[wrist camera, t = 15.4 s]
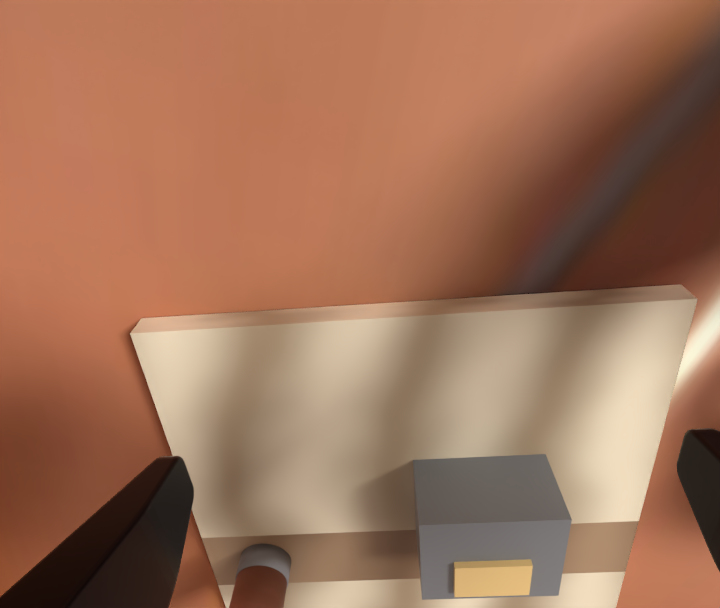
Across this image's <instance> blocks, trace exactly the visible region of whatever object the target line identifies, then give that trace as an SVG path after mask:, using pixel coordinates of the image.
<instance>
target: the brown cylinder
mask: <svg viewBox="0 0 720 608" xmlns="http://www.w3.org/2000/svg"><path fill="white" fill-rule="evenodd" d="M290 568H291V557H290V555H289V554H288V553H287V552H286V551H285V550H284V549H282V548H280V547H278V546H276V545H272V544H263V543H261V544H254V545H251V546H249V547H247V548H246V549H245V550H244V551H243V552H242V554H241V557H240V561H239V565H238V569H237V573H236V577H235V585H234V590H233V594H232V598H231V602H230V606H229V608H284V601H285V595H286V589H287V587H288V582H289V575H290Z"/></svg>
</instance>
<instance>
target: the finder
mask: <svg viewBox="0 0 720 608" xmlns="http://www.w3.org/2000/svg"><path fill="white" fill-rule="evenodd" d="M413 473H414V497H415V521H416V538H417V549H418V561H419V572H420V583H421V595H422V600H432V599H465V598H499V597H532V596H559V590H560V584H561V578H562V573H563V567H564V561H565V556H566V550H567V544H568V538H569V533H570V527H571V521H572V519H571V516H570V514H569V511H568V509H567V506H566V504H565V501H564V499H563V496H562V494H561V491H560V489H559V486H558V484H557V481H556V479H555V476H554V474H553V471H552V469H551V466H550V464H549V461H548V459H547V456H546V454H534V455H512V456H490V457H467V458H445V459H422V460H413Z"/></svg>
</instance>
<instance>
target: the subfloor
mask: <svg viewBox="0 0 720 608" xmlns="http://www.w3.org/2000/svg"><path fill="white" fill-rule="evenodd" d="M697 300H698V299H697V298H696V297H695V296H694V295H693V294H692V293H690V292H689V291H688V290H687V289H686V288H685V287H684V286H682V285H681V284H679V285H663V286H647V287H631V288H615V289H599V290H583V291H568V292H552V293H536V294H520V295H504V296H488V297H472V298H456V299H441V300H425V301H409V302H393V303H377V304H361V305H345V306H329V307H313V308H298V309H282V310H266V311H250V312H234V313H218V314H202V315H186V316H171V317H155V318H141V320H140V321H139V322H138V324H137V325H136V326H135V328H134V329H133V330H132V332H131V333H130V335H131V338H132V341H133V344H134V347H135V349H136V352H137V355H138V358H139V361H140V364H141V367H142V369H143V372H144V375H145V378H146V381H147V384H148V386H149V389H150V392H151V395H152V398H153V401H154V404H155V406H156V409H157V412H158V415H159V418H160V421H161V424H162V426H163V429H164V432H165V435H166V438H167V441H168V444H169V446H170V449H171V452H172V455H173V456H180V457H182V458H183V460H184V462H185V465H186V467H187V470H188V473H189V476H190V478H191V481H192V484H193V487H194V499H193V504H192V512H193V515H194V518H195V521H196V524H197V526H198V529H199V532H200V535H201V538H202V541H203V544H204V546H205V549H206V552H207V555H208V558H209V561H210V563H211V566H212V569H213V572H214V575H215V578H216V581H217V583H218V586H219V589H220V592H221V595H222V598H223V601H224V603H225V606H226V608H229V606H230V602H231V598H232V594H233V590H234V585H235V577H236V573H237V569H238V565H239V561H240V557H241V554H242V552H243V551H244V550H245V549H246V548H247V547H249V546H251V545H254V544H261V543H263V544H272V545H276V546H278V547H280V548H282V549H284V550H285V551H286V552H287V553H288V554H289V555H290V557H291V568H290V575H289V582H288V587H287V589H286V595H285V601H284V608H616V605H617V601H618V597H619V593H620V590H621V586H622V582H623V578H624V575H625V571H626V567H627V563H628V560H629V556H630V552H631V548H632V544H633V541H634V537H635V533H636V529H637V526H638V522H639V518H640V514H641V511H642V507H643V503H644V499H645V495H646V492H647V488H648V484H649V480H650V477H651V473H652V469H653V465H654V462H655V458H656V454H657V450H658V447H659V443H660V439H661V435H662V431H663V428H664V424H665V420H666V416H667V413H668V409H669V405H670V401H671V398H672V394H673V390H674V386H675V382H676V379H677V375H678V371H679V367H680V364H681V360H682V356H683V352H684V349H685V345H686V341H687V337H688V333H689V330H690V326H691V322H692V318H693V315H694V311H695V307H696V303H697ZM534 454H546V456H547V459H548V461H549V464H550V466H551V469H552V471H553V474H554V476H555V479H556V481H557V484H558V486H559V489H560V491H561V494H562V496H563V499H564V501H565V504H566V506H567V509H568V511H569V514H570V516H571V519H572V521H571V527H570V533H569V538H568V544H567V550H566V556H565V561H564V567H563V573H562V578H561V584H560V590H559V596H532V597H499V598H465V599H432V600H422V595H421V583H420V572H419V561H418V549H417V538H416V521H415V497H414V473H413V460H422V459H445V458H467V457H490V456H512V455H534Z"/></svg>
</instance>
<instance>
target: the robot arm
mask: <svg viewBox="0 0 720 608" xmlns="http://www.w3.org/2000/svg"><path fill="white" fill-rule="evenodd" d="M677 472H678V476H679V479H680V481H681V484H682V486H683V488H684V491H685V493H686V496H687V498H688V500H689V503H690V505H691V508H692V510H693V512H694V515H695V517H696V520H697V522H698V524H699V527H700V529H701V532H702V534H703V536H704V539H705V541H706V544H707V546H708V548H709V551H710V553H711V555H712V557H713V559H714V562H715V564H716V566H717V568H718V570H719V571H720V431H718V430H716V429H711V428H706V429H691V430H688V431H687V432H686V433H685V436H684V439H683V443H682V447H681V450H680V454H679V458H678V461H677ZM193 499H194V487H193V484H192V481H191V478H190V476H189V473H188V470H187V467H186V465H185V462H184V460H183V458H182V457H180V456H163V457H159V458H157V459H156V460H154V461H153V462H152V463H151V464H150V465H149V466H148V467H146V468H145V469H144V470H143V471H142V472H141V473H140V474H139V475H137V476H136V477H135V478H134V479H133V480H132V481H131V482H130V483H128V484H127V485H126V486H125V487H124V488H123V489H122V490H120V491H119V492H118V493H117V494H116V495H115V496H114V497H113V498H111V499H110V500H109V501H108V502H107V503H106V504H105V505H104V506H102V507H101V508H100V509H99V510H98V511H97V512H96V513H95V514H93V515H92V516H91V517H90V518H89V519H88V520H87V521H85V522H84V523H83V524H82V525H81V526H80V527H79V528H78V529H76V530H75V531H74V532H73V533H72V534H71V535H70V536H69V537H67V538H66V539H65V540H64V541H63V542H62V543H61V544H59V545H58V546H57V547H56V548H55V549H54V550H53V551H52V552H50V553H49V554H48V555H47V556H46V557H45V558H44V559H43V560H41V561H40V562H39V563H38V564H37V565H36V566H35V567H33V568H32V569H31V570H30V571H29V572H28V573H27V574H26V575H24V576H23V577H22V578H21V579H20V580H19V581H18V582H17V583H15V584H14V585H13V586H12V587H11V588H10V589H9V590H8V591H6V592H5V593H4V594H3V595H2V596H1V597H0V608H168V607H169V604H170V601H171V597H172V594H173V591H174V587H175V584H176V581H177V576H178V572H179V568H180V563H181V558H182V553H183V548H184V543H185V539H186V534H187V529H188V524H189V519H190V514H191V509H192V504H193Z"/></svg>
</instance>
